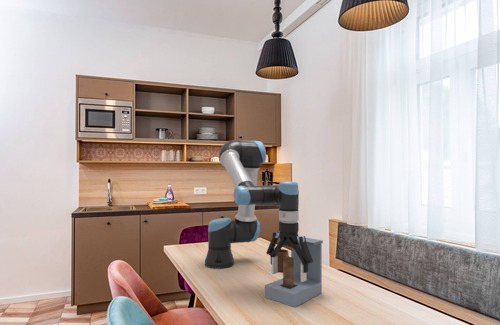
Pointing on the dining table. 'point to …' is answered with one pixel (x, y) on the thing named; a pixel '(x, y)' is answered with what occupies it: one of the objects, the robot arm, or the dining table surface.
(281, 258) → the mug
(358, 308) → the dining table surface
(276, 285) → the socket station
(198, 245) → the dining table surface
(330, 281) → the dining table surface
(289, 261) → the peg
